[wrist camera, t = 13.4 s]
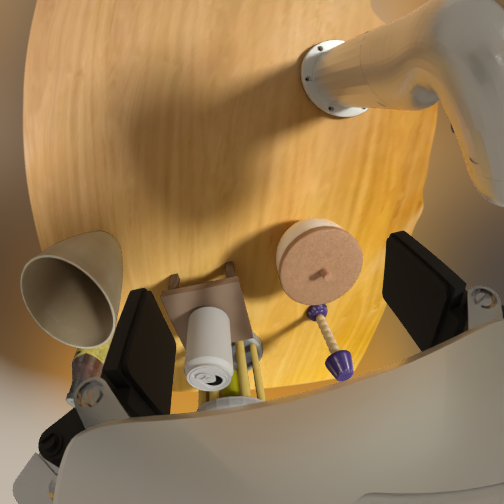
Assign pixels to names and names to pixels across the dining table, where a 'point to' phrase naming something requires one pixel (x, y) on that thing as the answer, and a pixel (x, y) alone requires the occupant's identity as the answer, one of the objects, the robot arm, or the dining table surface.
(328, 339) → the toy lamp
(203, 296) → the small brown table
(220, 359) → the beverage can
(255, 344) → the lantern
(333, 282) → the lidded bowl
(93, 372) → the sauce bottle
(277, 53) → the dining table surface
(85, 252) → the plant pot
